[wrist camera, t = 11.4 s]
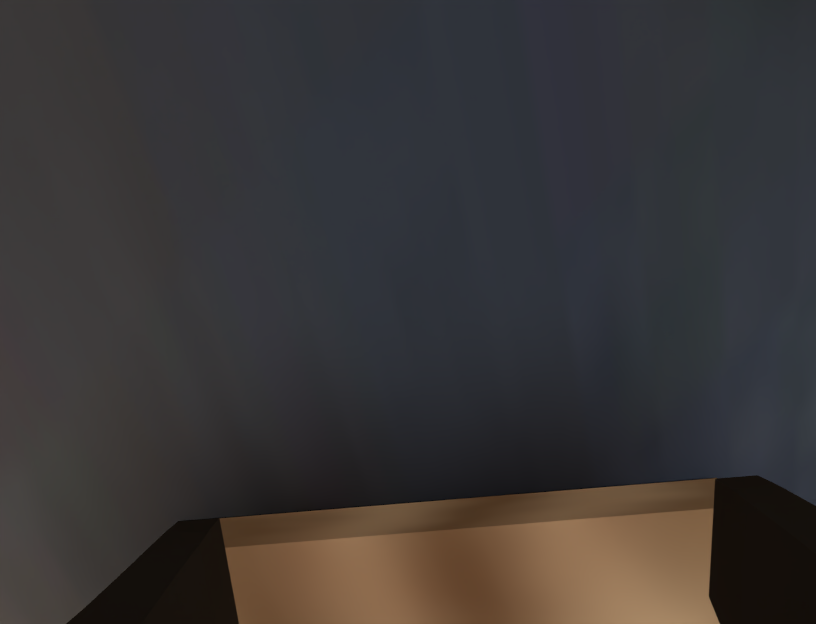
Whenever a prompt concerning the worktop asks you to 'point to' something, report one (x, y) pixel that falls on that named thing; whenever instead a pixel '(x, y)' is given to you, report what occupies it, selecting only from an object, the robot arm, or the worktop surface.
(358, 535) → the base board
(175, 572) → the robot arm
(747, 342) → the worktop surface
